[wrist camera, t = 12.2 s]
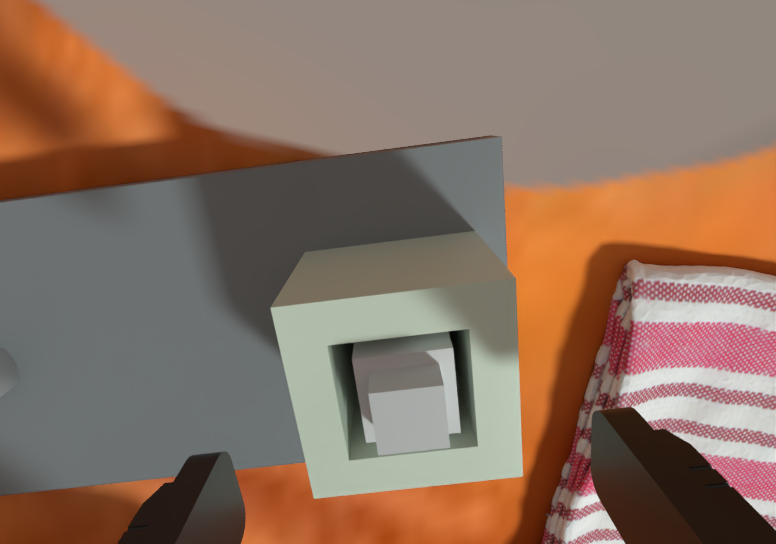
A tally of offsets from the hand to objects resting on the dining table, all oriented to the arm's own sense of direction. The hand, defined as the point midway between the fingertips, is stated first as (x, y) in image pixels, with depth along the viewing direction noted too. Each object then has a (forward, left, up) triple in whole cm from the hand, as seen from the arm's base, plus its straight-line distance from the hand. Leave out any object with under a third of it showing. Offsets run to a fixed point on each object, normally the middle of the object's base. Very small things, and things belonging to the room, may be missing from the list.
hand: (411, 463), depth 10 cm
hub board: (-6, +5, -9) cm, 12 cm away
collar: (0, 0, -7) cm, 7 cm away
